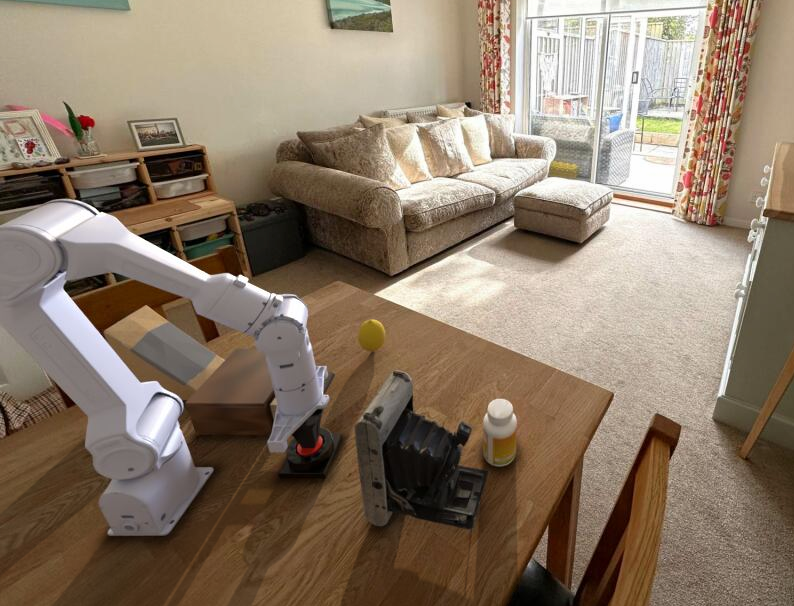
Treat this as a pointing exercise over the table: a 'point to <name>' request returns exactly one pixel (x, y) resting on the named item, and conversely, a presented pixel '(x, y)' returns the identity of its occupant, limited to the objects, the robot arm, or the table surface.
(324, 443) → the black button housing
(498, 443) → the supplement bottle
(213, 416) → the wooden drawer cabinet
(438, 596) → the table surface
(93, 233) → the robot arm
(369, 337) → the lemon
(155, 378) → the sandwich container
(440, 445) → the vintage camera
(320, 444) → the release button
